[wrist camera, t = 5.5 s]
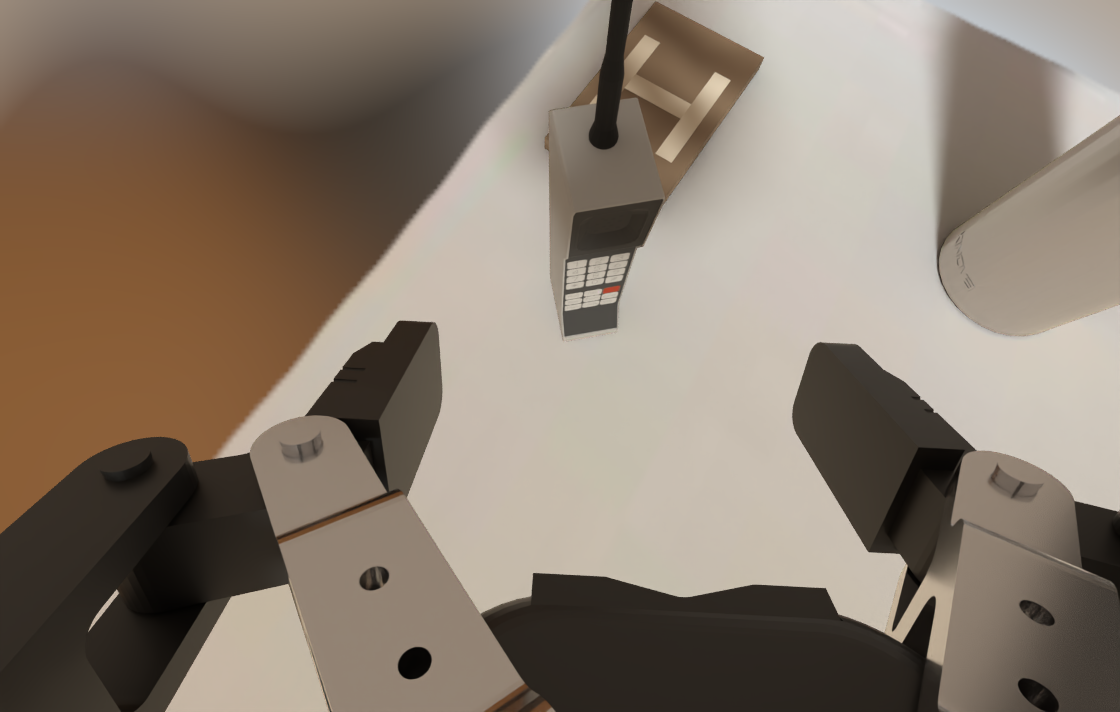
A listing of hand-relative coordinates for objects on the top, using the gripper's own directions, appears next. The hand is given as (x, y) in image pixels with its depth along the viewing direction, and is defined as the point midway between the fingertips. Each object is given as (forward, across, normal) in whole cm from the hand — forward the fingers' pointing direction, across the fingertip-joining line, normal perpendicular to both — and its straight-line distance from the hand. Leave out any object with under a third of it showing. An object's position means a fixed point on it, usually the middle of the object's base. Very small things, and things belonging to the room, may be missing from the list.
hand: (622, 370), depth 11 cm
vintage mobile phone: (+24, 0, -9) cm, 26 cm away
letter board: (+36, +5, +3) cm, 36 cm away
